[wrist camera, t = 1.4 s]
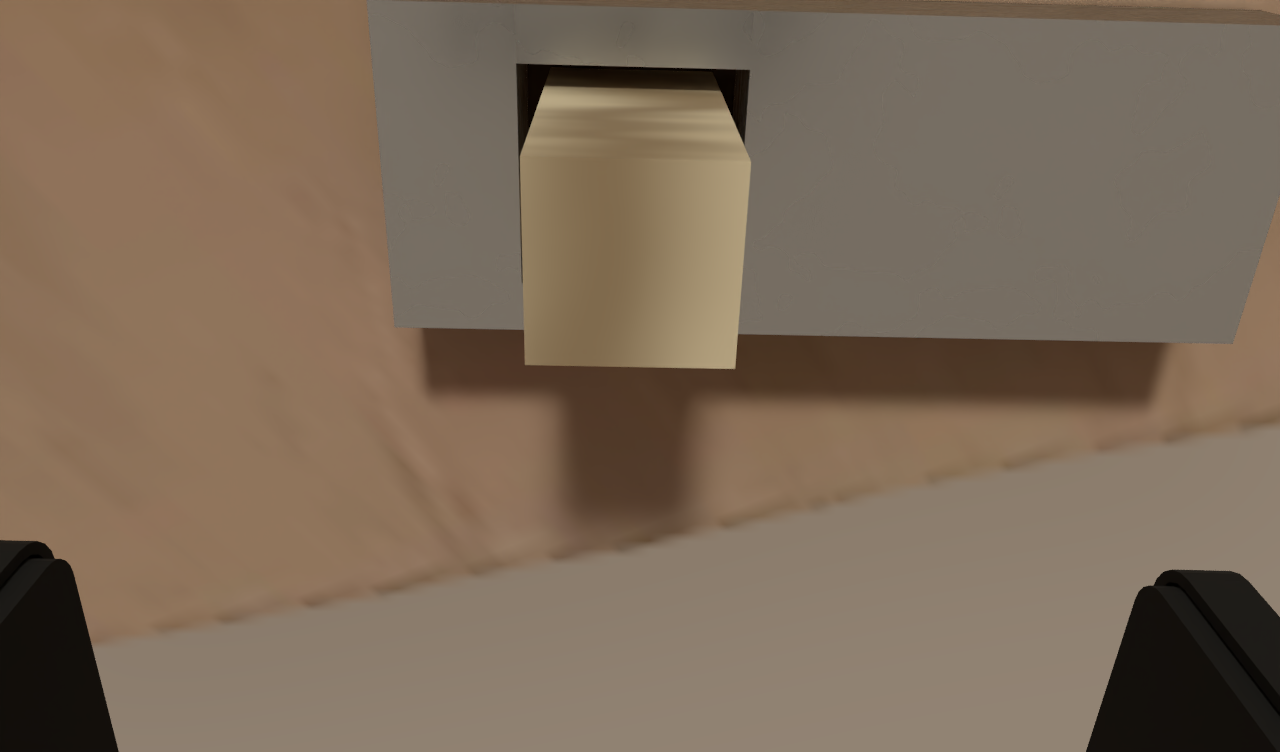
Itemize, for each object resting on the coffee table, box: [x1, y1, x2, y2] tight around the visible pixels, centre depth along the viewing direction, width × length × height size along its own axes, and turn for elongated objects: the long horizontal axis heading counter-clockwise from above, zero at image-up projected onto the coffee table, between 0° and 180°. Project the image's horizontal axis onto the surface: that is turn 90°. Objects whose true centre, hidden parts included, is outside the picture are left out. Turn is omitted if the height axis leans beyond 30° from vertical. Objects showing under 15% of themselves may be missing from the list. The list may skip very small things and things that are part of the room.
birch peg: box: [520, 68, 751, 369], centre depth 24 cm, size 4×4×9 cm
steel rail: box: [367, 0, 1280, 344], centre depth 26 cm, size 22×8×3 cm, turn 88°
